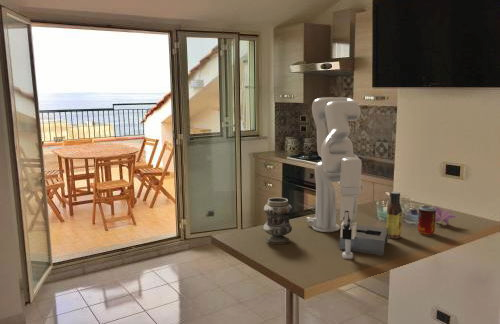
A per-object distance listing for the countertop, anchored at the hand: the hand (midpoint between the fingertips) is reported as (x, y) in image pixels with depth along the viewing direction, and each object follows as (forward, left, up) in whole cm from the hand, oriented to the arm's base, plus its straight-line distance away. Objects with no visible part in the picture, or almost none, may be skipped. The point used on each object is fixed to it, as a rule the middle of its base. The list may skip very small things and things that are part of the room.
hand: (348, 236), depth 164 cm
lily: (+34, +57, -9) cm, 66 cm away
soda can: (+27, +41, -9) cm, 50 cm away
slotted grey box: (+4, +15, -8) cm, 18 cm away
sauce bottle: (+14, +31, -9) cm, 35 cm away
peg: (0, 0, -8) cm, 8 cm away
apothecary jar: (-31, +7, -9) cm, 33 cm away
